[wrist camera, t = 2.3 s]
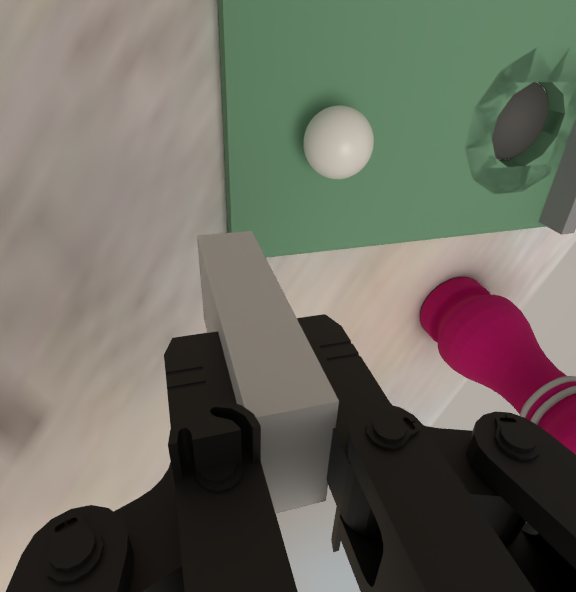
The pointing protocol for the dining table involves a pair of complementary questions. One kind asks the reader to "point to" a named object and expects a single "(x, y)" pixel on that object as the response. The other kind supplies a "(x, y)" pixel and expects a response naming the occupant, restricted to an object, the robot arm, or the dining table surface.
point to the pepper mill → (500, 354)
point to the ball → (338, 142)
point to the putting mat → (399, 118)
